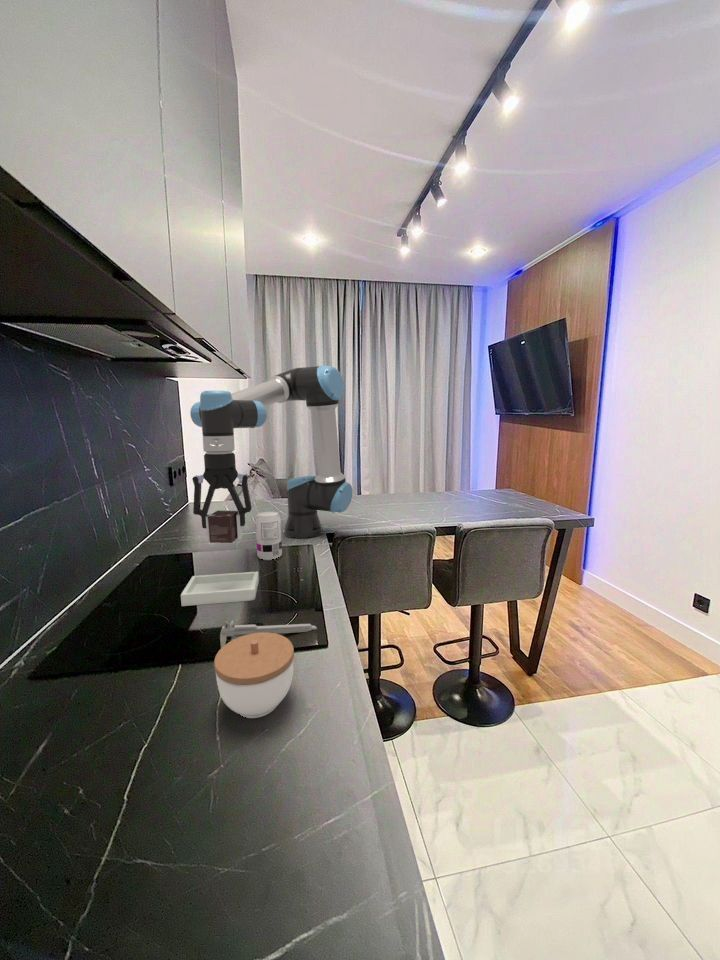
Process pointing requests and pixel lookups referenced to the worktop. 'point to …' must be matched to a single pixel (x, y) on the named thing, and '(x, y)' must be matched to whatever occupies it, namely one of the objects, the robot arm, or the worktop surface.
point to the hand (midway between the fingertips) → (224, 538)
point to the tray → (220, 588)
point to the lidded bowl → (254, 673)
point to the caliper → (260, 630)
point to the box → (223, 526)
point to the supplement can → (268, 535)
